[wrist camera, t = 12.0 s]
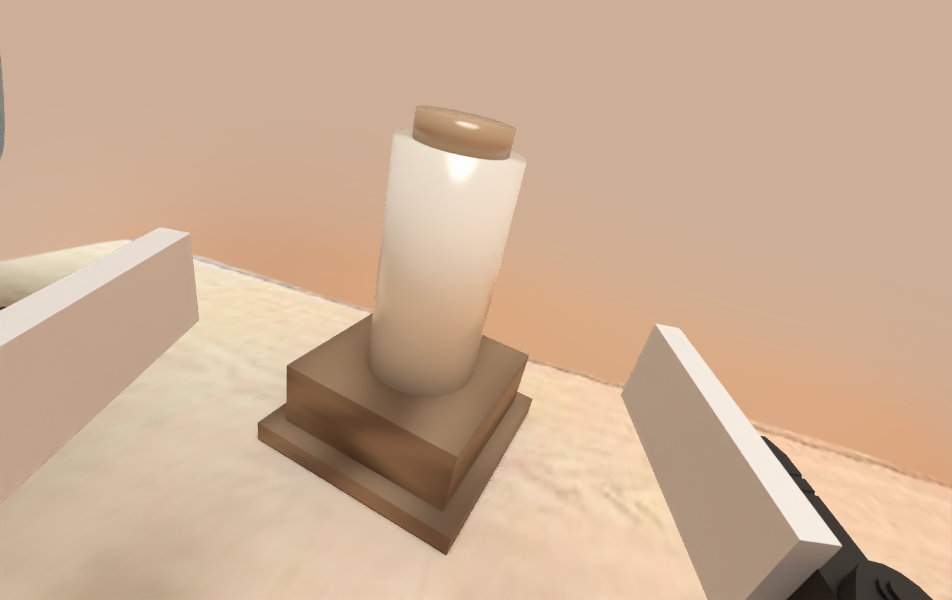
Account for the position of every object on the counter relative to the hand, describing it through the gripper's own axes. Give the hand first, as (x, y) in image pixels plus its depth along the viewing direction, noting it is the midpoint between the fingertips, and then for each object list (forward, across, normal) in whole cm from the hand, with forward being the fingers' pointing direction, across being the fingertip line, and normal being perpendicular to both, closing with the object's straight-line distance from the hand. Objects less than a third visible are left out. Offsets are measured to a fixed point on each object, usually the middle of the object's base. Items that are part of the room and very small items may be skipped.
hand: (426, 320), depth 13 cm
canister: (+10, 0, -9) cm, 13 cm away
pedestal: (+10, 0, -14) cm, 17 cm away
